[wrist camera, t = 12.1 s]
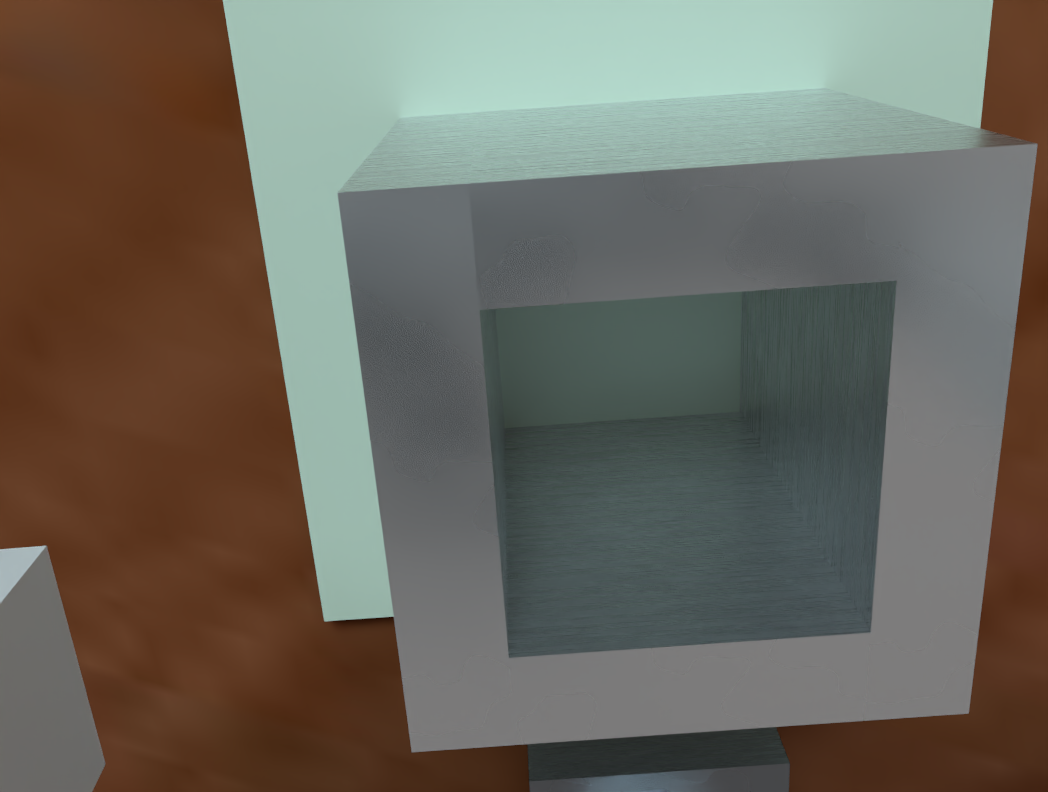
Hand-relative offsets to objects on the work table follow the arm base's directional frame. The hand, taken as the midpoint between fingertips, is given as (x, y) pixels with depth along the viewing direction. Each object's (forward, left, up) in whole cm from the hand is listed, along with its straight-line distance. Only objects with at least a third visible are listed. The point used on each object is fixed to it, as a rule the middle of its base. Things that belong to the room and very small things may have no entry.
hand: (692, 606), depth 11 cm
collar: (0, 0, -11) cm, 11 cm away
